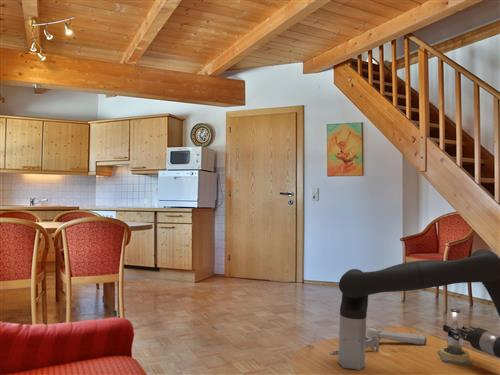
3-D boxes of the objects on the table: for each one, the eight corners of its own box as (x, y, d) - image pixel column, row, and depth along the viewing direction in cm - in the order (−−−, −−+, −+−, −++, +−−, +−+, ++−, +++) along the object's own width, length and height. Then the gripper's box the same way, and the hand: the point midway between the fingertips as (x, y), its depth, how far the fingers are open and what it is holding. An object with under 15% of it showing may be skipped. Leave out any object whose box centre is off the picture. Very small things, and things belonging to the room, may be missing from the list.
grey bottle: (463, 357, 151) (464, 312, 151) (448, 356, 152) (449, 310, 153) (460, 353, 156) (461, 308, 156) (445, 351, 157) (446, 307, 158)
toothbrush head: (428, 337, 166) (369, 328, 165) (425, 353, 166) (366, 344, 164) (421, 332, 172) (364, 323, 170) (419, 348, 171) (361, 339, 170)
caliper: (377, 351, 160) (377, 334, 160) (378, 352, 159) (379, 335, 159) (329, 354, 155) (330, 337, 155) (330, 355, 154) (331, 338, 154)
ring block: (471, 365, 148) (472, 358, 148) (442, 361, 151) (442, 354, 151) (465, 355, 157) (465, 348, 158) (437, 352, 160) (437, 345, 160)
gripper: (504, 329, 143) (463, 316, 159) (472, 332, 138) (434, 318, 154) (503, 351, 143) (463, 335, 159) (472, 355, 138) (434, 338, 154)
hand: (449, 327), depth 157 cm, fingers closed on grey bottle, 5 cm apart
